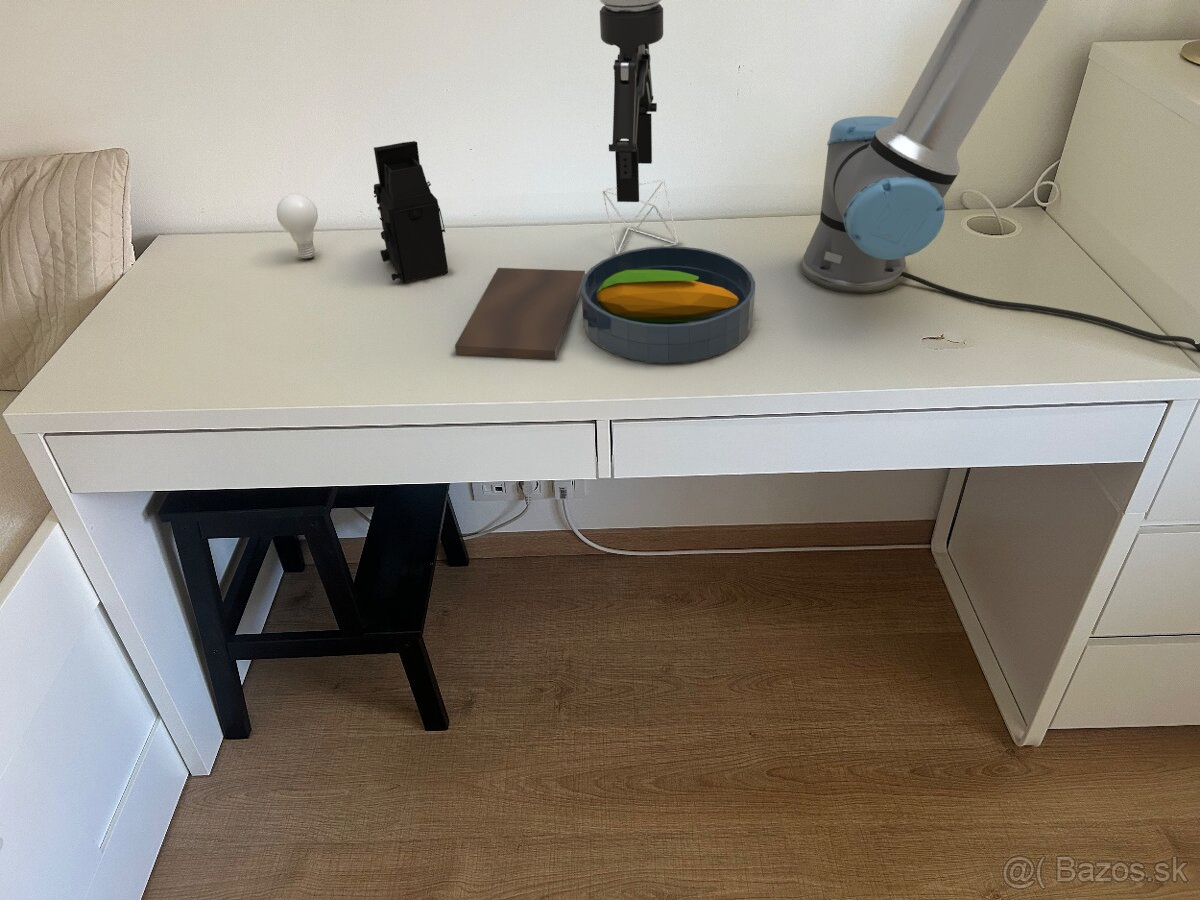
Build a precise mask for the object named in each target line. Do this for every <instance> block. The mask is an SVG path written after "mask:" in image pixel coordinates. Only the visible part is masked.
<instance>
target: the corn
mask: <svg viewBox="0 0 1200 900" xmlns="http://www.w3.org/2000/svg"><path fill="white" fill-rule="evenodd" d="M698 278H699V277H698V276H695V275H692V274H688V273H684V272H680V271H669V270H653V269H647V268H643V269H625V270H622V271H619V272H616V273H614V274H613V275H611V276H609V277H608V278H606V279H605V280H604V282H603V283H602V284H601V285H600V287H599V288H598V290H597V292H598V293H597V301H598V303H599V305H600V306H601V307H602V308H603V309H604V310H605V311H607V312H608V313H609V314H611V315H614V316H617V317H620V318H623V319H627V320H631V321H637V322H651V323H681V322H688V321H686V320H672V319H682V318H692V317H703V316H707V315H710V314H714V313H717V312H720V311H724V310H727V309H730V308H732V307H733V306H735V305H736V304H737V302H738V300H739V299H738V298H737V296H736V295H734V294H733V293H731V292H730V291H728V290H726V289H724V288H722V287H718V286H714V285H709V284H705V283H701V282H697V281H695V280H697V279H698Z"/></svg>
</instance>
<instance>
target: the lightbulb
mask: <svg viewBox="0 0 1200 900" xmlns="http://www.w3.org/2000/svg"><path fill="white" fill-rule="evenodd" d="M318 213H319V212H318V208H317V205H316V204H315V202H314V201H313V200H312V199H311V198H309V197H308V196H306V195H304V194H302V193H289V194H287V195H285V196H283V197H282V198H281V199H280V200H279V202H278V204H277V207H276V218H277V220H278V222H279V224H280V226H281V227H282V228H283V229H284V230H285V231H286V232H287V233H288V234H289V235H290V236H291V238H292V240H293V241H294V243H295V244H296V245H295V246H296V248H297V251H298V255H299V257H300V258H302V259H305V260H310V259H312V258H313V257H315V256H316V254H317V252H316V249H315V245H314V230H315V227H316V225H317V222H318V217H319V215H318Z"/></svg>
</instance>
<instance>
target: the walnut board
mask: <svg viewBox="0 0 1200 900" xmlns="http://www.w3.org/2000/svg"><path fill="white" fill-rule="evenodd" d="M585 274H586V270H574V269H572V270H571V269H546V268H545V269H544V268H515V267H497V268H496V271H495V272H494V274H493V276H492V277H491V279H490V281H489V283H488V285H487V286H486V288H485V290H484V292H483V293H482V296H481V297H480V299H479V301H478V303H477V305H476V307H475V309H474V310H473V312H472V314H471V316H470V318H469V319H468V321H467V322H466V325H465V326H464V328H463V330H462V332H461V334H460V336H459V337H458V339H457V341H456V343H455V344H454V349H455V354H456V356H470V357H471V356H472V357H493V358H512V359H529V360H530V359H531V360H551V361H555V360H557V357H558V354H559V351H560V349H561V346H562V344H563V341H564V339H565V336H566V333H567V329H569V325H570V322H571V320H572V317H573V314H574V311H575V309H576V306H577V305H578V304H577V303H578V300H579V298H580V296H581V283H582V280H583V278H584V275H585Z"/></svg>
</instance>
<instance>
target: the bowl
mask: <svg viewBox="0 0 1200 900" xmlns="http://www.w3.org/2000/svg"><path fill="white" fill-rule="evenodd" d="M661 246H662V247H660V246H650V247H643V248H636V249H632V250H626V251H623V252H620V253H619V254H616V253H615V254H614V255H612V256H609V257H607V258H604V259H603V260H601V261H599V262H598V263H596V264H594V265H593V266H592V267H590V268H589V270H588V271H587V272H585V275H584V278H583V280H582V283H581V293H580V296H581V297H580V298H581V313H582V314H581V315H582V316H581V317H582V326H583V329H584V331H585V333H586V334H587V336H588V338H589V339H590V340H592V341H593V342H594V343H595V344H596V345H597V346H599V347H600V348H602V349H604V350H606V351H608V352H610V353H612V354H615V355H617V356H620V357H622V358H626V359H630V360H634V361H638V362H644V363H650V364H651V363H652V364H653V363H654V364H682V363H689V362H690V363H691V362H696V361H701V360H706V359H709V358H711V357H715V356H717V355H720V354H722V353H725V352H727V351H729V350H730V349H732V348H734V347H736V346H738V345H739V344H740V343H742V341H743V340H744V339H745V338H747V337H748V335H749V333H750V331H751V329H752V328H753V322H754V309H755V296H756V295H755V293H756V281H755V278H754V277H753V273H751V271H749V270H748V268H747V267H745V265H744V264H742V263H740V262H739V261H737V260H736V259H734V258H732V257H729V256H727V255H724V254H722V253H719V252H715V251H712V250H708V249H704V248H698V247H690V246H677V245H673V246H665V245H661ZM643 268H647V269H653V270H669V271H680V272H684V273H688V274H692V275H695V276H698V277H699V278H698V279H697V280H695V281H697V282H701V283H705V284H709V285H714V286H718V287H722V288H724V289H726V290H728V291H730V292H731V293H733V294H734V295H736V296H737V298H738V299H739V300H738V302H737V304H736V305H735V306H733V307H732V308H730V309H727V310H724V311H720V312H717V313H714V314H710V315H707V316H703V317H692V318H682V319H672V320H686V321H688V322H681V323H651V322H637V321H631V320H627V319H623V318H620V317H617V316H614V315H611V314H609V313H608V312H607V311H605V310H604V309H603V308H602V307H601V306H600V305H599V303H598V301H597V293H598V292H597V290H598V288H599V287H600V285H601V284H602V283H603V282H604V280H605V279H606V278H608V277H609V276H611V275H613V274H614V273H616V272H619V271H622V270H625V269H643Z"/></svg>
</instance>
